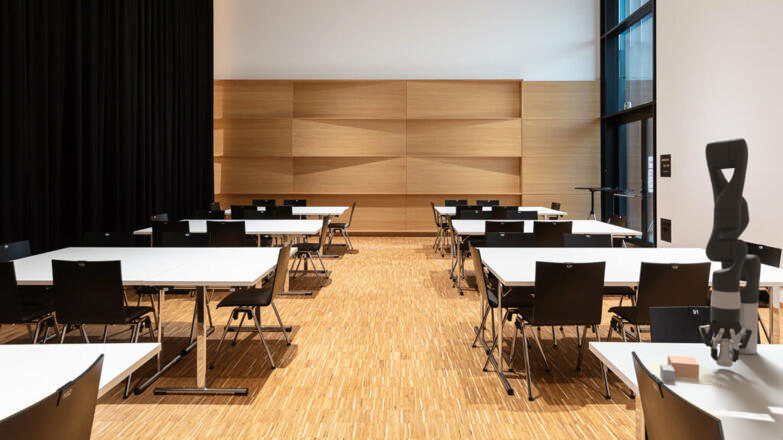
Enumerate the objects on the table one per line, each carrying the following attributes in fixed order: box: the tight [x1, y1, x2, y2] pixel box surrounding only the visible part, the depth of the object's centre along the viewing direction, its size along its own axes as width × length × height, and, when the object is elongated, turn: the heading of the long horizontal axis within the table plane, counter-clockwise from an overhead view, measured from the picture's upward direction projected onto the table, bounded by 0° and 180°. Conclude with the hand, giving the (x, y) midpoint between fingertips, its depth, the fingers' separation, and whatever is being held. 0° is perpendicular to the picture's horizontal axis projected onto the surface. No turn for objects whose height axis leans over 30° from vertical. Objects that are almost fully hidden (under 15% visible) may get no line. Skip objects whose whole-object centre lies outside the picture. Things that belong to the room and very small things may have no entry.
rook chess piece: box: [715, 338, 734, 368], centre depth 160 cm, size 4×4×8 cm
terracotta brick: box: [667, 354, 700, 378], centre depth 158 cm, size 7×7×4 cm
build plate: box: [648, 362, 722, 387], centre depth 158 cm, size 16×16×1 cm
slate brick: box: [660, 364, 675, 382], centre depth 154 cm, size 5×3×3 cm, turn 162°
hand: (724, 360), depth 161 cm, fingers closed on rook chess piece, 4 cm apart
